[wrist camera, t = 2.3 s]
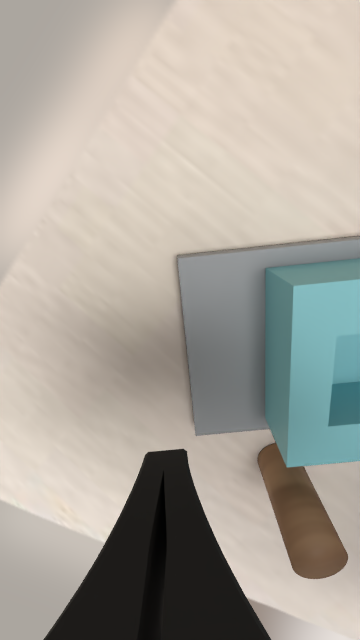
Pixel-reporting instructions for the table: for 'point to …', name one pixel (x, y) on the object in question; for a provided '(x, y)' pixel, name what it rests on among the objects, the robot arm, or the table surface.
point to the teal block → (313, 361)
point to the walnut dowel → (301, 518)
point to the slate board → (236, 327)
